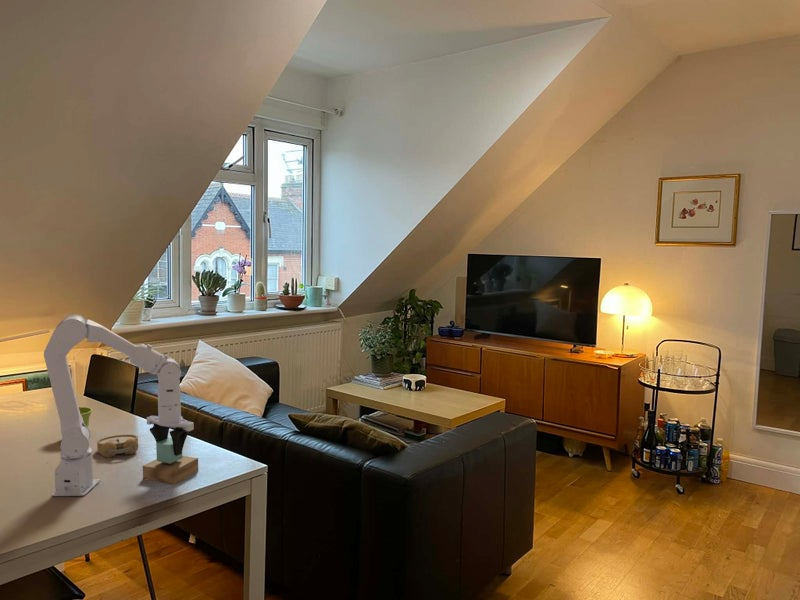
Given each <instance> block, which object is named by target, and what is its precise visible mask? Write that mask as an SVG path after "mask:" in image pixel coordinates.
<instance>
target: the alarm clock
mask: <svg viewBox="0 0 800 600" xmlns="http://www.w3.org/2000/svg"><path fill="white" fill-rule="evenodd" d="M96 443H97V445H96V446H97V454H99V455H101V456H102V457H104V458H107V459H109V458H110V457H111V458H113V457H115V456H116V455H118V454H126V455H127V454H131V455H133V453H134V454H136V452H137V451H138V449H139V436H138V435H135V434H115V435H110V436H107V437H103V438H100V439H98V440H97V441H96Z"/></svg>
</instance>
